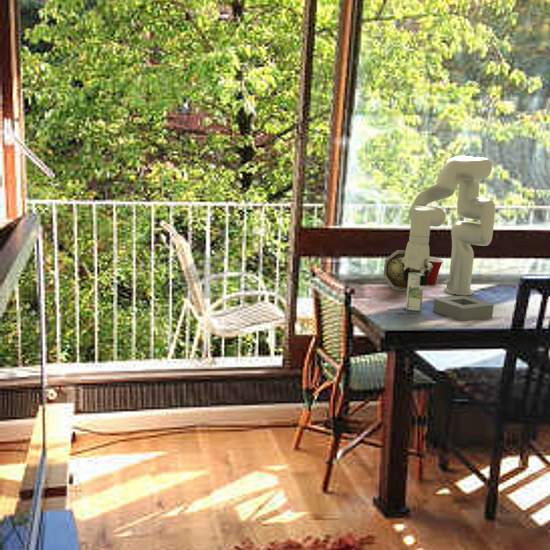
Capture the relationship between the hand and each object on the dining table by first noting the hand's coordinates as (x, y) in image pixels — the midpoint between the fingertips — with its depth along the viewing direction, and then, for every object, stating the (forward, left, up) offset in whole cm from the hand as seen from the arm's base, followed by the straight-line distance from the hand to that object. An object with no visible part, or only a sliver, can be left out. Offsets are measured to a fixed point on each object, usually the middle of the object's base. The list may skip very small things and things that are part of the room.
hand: (415, 282), depth 302 cm
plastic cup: (-35, +40, -11) cm, 55 cm away
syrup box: (0, 0, -11) cm, 11 cm away
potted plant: (-28, +17, -11) cm, 35 cm away
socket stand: (+13, +14, -11) cm, 22 cm away
